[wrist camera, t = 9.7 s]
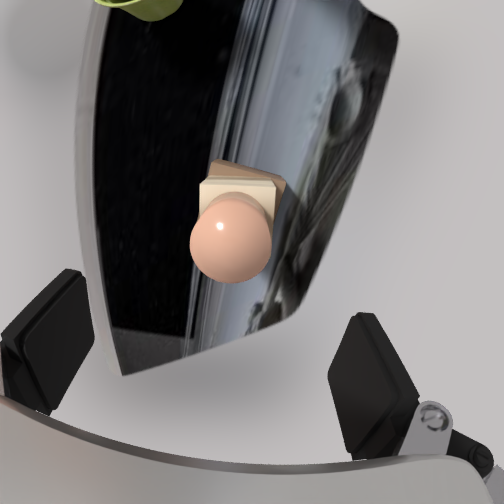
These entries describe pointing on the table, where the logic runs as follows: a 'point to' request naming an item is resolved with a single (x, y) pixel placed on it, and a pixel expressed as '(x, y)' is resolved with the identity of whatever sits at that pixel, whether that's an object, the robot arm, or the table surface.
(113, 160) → the table surface
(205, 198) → the beech block
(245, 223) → the peach rounded solid
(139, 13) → the plant pot
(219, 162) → the walnut block
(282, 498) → the robot arm
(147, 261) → the table surface
